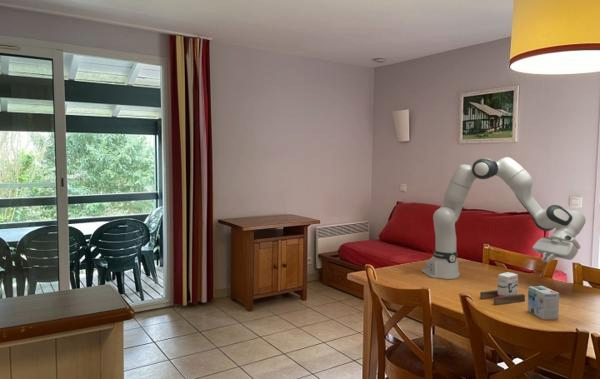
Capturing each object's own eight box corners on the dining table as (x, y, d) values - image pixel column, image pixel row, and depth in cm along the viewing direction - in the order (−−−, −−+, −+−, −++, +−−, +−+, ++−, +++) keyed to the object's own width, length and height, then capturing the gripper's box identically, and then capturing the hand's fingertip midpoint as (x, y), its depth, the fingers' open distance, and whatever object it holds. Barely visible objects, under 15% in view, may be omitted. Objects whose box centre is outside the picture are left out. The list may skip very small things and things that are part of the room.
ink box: (507, 302, 192) (507, 276, 191) (497, 299, 196) (497, 274, 195) (517, 299, 197) (518, 273, 196) (507, 296, 201) (508, 271, 200)
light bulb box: (527, 310, 181) (527, 285, 180) (542, 310, 181) (542, 285, 181) (543, 320, 170) (544, 293, 170) (559, 319, 171) (560, 292, 170)
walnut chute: (480, 298, 198) (480, 292, 198) (507, 294, 203) (507, 288, 203) (496, 305, 188) (496, 298, 188) (524, 301, 193) (524, 294, 193)
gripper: (539, 232, 214) (523, 253, 211) (577, 238, 194) (560, 261, 192) (546, 240, 215) (530, 261, 213) (584, 247, 196) (567, 270, 193)
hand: (545, 261), depth 202 cm, fingers closed
